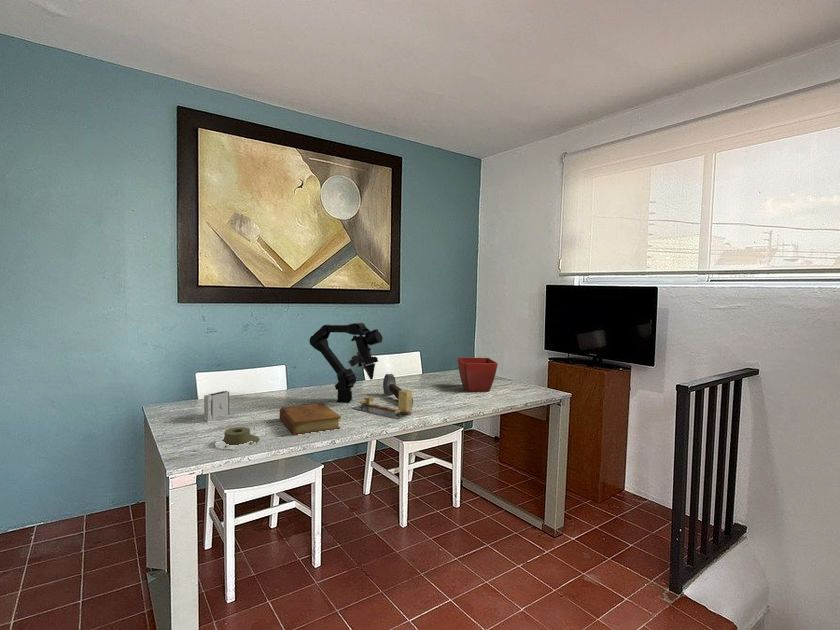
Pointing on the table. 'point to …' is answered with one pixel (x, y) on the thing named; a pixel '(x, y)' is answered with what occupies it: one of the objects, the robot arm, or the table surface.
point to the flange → (239, 436)
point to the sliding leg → (404, 401)
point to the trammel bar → (369, 402)
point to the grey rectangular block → (216, 404)
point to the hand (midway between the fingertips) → (371, 379)
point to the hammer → (391, 386)
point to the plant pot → (477, 373)
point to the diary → (309, 418)
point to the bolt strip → (380, 411)
